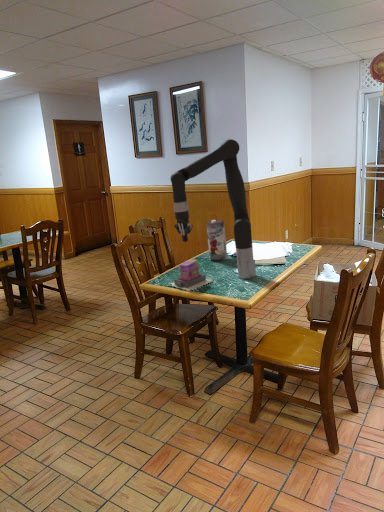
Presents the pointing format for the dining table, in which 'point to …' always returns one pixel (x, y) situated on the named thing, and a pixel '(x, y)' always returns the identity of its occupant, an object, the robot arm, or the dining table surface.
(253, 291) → the dining table surface
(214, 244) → the juice carton
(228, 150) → the robot arm
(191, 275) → the box
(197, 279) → the board
